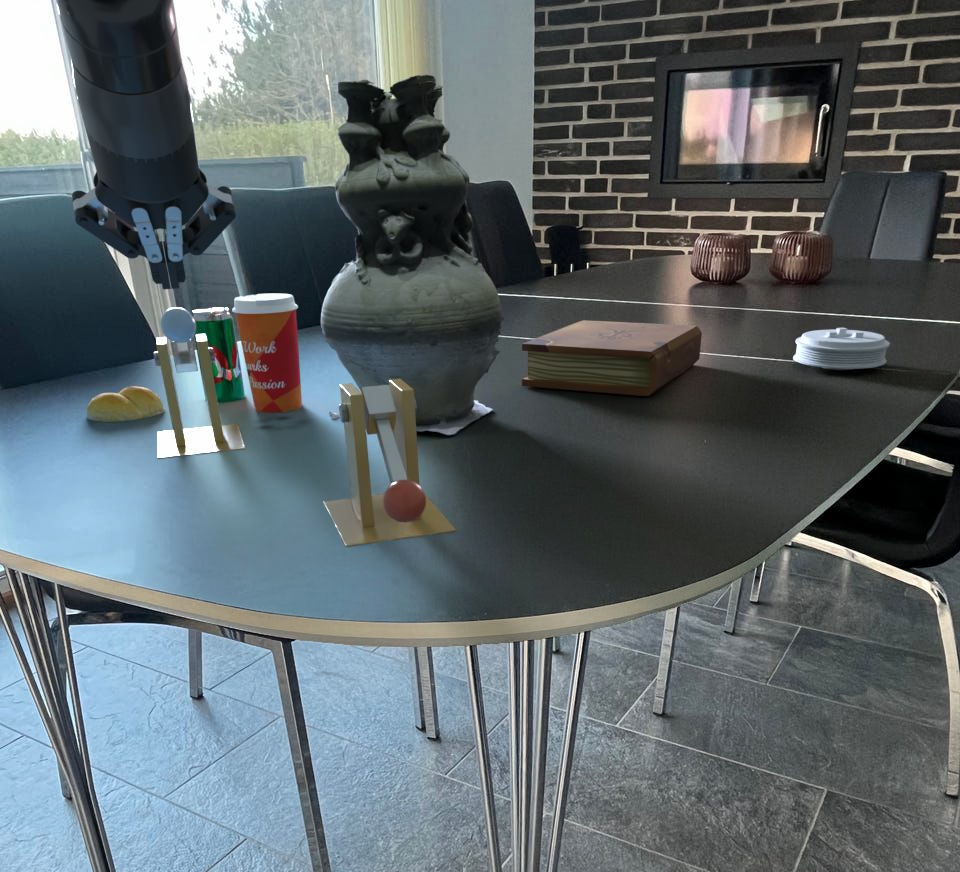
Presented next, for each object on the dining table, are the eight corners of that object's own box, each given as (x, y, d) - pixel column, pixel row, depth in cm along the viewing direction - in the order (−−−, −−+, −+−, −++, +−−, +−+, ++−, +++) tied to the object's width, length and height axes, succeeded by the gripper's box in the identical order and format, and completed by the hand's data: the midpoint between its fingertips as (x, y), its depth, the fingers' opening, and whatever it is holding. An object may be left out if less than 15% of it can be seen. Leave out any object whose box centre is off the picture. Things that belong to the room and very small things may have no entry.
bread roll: (79, 423, 107) (71, 390, 106) (149, 410, 113) (142, 378, 111) (105, 435, 102) (97, 401, 100) (177, 420, 107) (171, 388, 105)
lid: (845, 355, 133) (850, 321, 130) (904, 370, 122) (912, 334, 120) (774, 362, 130) (779, 327, 127) (829, 379, 119) (836, 341, 117)
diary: (654, 398, 111) (657, 352, 109) (521, 387, 119) (521, 343, 116) (698, 365, 129) (702, 324, 127) (581, 357, 137) (582, 318, 134)
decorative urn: (298, 431, 101) (253, 77, 85) (381, 391, 119) (358, 90, 102) (464, 446, 94) (451, 63, 78) (526, 401, 112) (527, 80, 95)
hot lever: (428, 527, 66) (432, 502, 63) (387, 533, 65) (390, 508, 62) (392, 408, 71) (395, 380, 68) (353, 412, 70) (355, 383, 67)
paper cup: (236, 417, 108) (217, 298, 101) (286, 405, 113) (271, 291, 106) (273, 427, 103) (255, 303, 97) (324, 414, 108) (310, 295, 102)
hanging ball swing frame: (247, 459, 92) (229, 344, 86) (159, 469, 90) (134, 351, 84) (239, 433, 101) (222, 328, 96) (159, 442, 99) (137, 334, 93)
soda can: (233, 400, 116) (218, 305, 111) (253, 406, 113) (239, 309, 108) (199, 407, 113) (182, 310, 108) (219, 413, 110) (202, 313, 104)
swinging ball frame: (457, 543, 70) (451, 396, 64) (346, 560, 67) (330, 408, 62) (422, 501, 79) (414, 368, 73) (324, 514, 77) (308, 378, 71)
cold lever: (198, 334, 81) (191, 300, 81) (162, 337, 80) (156, 303, 80) (203, 374, 93) (198, 345, 92) (172, 377, 92) (167, 347, 92)
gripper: (43, 157, 59) (97, 321, 75) (240, 153, 63) (251, 311, 79) (31, 73, 61) (86, 250, 77) (224, 73, 64) (238, 243, 81)
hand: (170, 281), depth 78 cm, fingers closed
